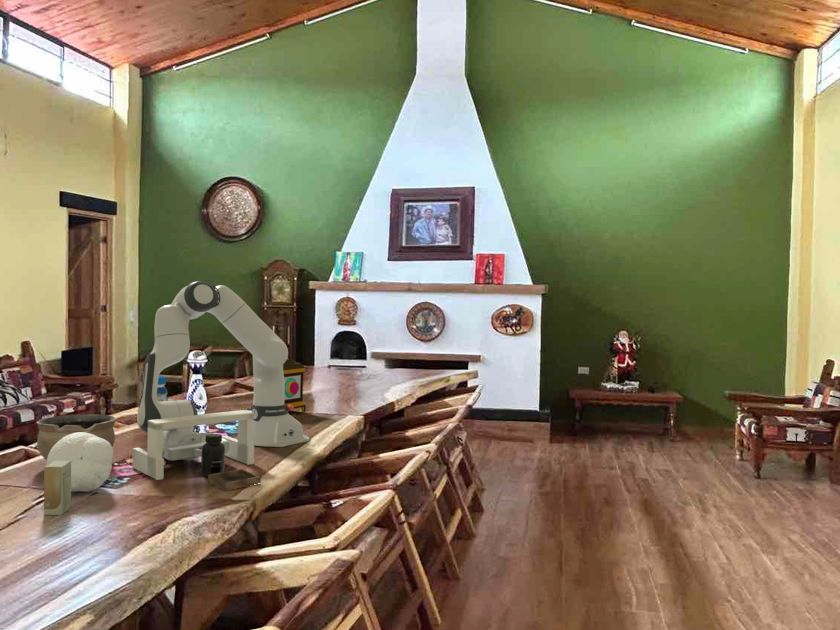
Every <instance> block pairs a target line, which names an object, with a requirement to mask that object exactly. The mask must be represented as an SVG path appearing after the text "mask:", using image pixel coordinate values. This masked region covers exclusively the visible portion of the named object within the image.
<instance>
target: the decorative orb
mask: <svg viewBox="0 0 840 630" xmlns="http://www.w3.org/2000/svg"><path fill="white" fill-rule="evenodd" d="M113 459H114V449H113V447H112V446H111V445H110V443H109V442H108V441H106V440H105V439H102V438H99V437H97V436H95V435H93V434H89V433H85V432H77V433H73V434H70V435H67V436H65V437H63V438H62V439H61V440H59V441H58V442H57V443H56V444H55V445H54V447H52V449H51V450H50V452H49V455H48V458H47V461H46V466H47V465H48V464H50V463H51V462H53V461H71V492H75V493H76V492H83V493H89V492H92V491H95V490H97V489H99V487H100V486H102V485H103V484H104V483H105V481H107V480H108V479H109V477H110V474H111V472H112V469H113V465H112V461H113Z"/></svg>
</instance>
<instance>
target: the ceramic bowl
mask: <svg viewBox="0 0 840 630" xmlns="http://www.w3.org/2000/svg"><path fill="white" fill-rule="evenodd" d="M116 421H117V419H116V417H114V416H113V415H108V414H67V415H58V416H52V417H51V416H49V417H46V418H41V419H40V420H38V421H35V422H36V424H37V426H38V428H39V432H38V434H37V438H36V447H37V450H38V452H39V454H40V455H41V456H42V457H43V458H44V460H45V461H46V462H47V458H48V455H49V452H50V450H51V449H52V447H54V445H55V444H56V443H57V442H58V441H59V440H61V439H62V438H63V437H65V436H67V435H70V434H73V433H77V432H85V433H89V434H93V435H95V436H97V437H99V438H102V439H105V440H106V441H108V442H109V443H110V445H111V446H112V448H113V447H114V445H115V442H116V441H115V440H116V434H115V431H114V425H115V423H116Z"/></svg>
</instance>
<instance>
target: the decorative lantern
mask: <svg viewBox="0 0 840 630" xmlns="http://www.w3.org/2000/svg"><path fill="white" fill-rule="evenodd" d="M306 369H307V368H306V366H305V365H304V364H302V363H301V362H297V361H295V360H294V358H293V359H292V358H291V356H288V357H287V360H286V362H285V363H284V364H283V373H284V381H285V392H284V404H286V405H287V406H288V405H293V406H294V408H293V409H292V410H294V409H300V408H301V409H300V410H301V412H302V413H305V412H306V407H307V406H306V403H305V401H304V397H303V395H304V394H303V393H304V392H303V391H304V387H303V386H304V373H305V370H306ZM252 404H254V401H252ZM250 412H252V405H251V411H250Z"/></svg>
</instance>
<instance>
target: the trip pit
mask: <svg viewBox="0 0 840 630" xmlns="http://www.w3.org/2000/svg"><path fill="white" fill-rule="evenodd" d="M207 480H208V481H207V482H208V483H209V484H211V485H214V486H215V487H217V488H219V489H221V490H223V491H232V489H233V490H238V489H237V488H239V489H242V488H241V487H244V488H247V487H246V486H249V487H251V486H250V485H254V484H258V483H262V476H260V475H257V474H255V473H253V472H250V471H248V470H245V469H244V468H242V469H241V468H240V469H234V470H229V471H224V472H222V473H216V474H210V475H208V477H207ZM254 486H255V485H254Z"/></svg>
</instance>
